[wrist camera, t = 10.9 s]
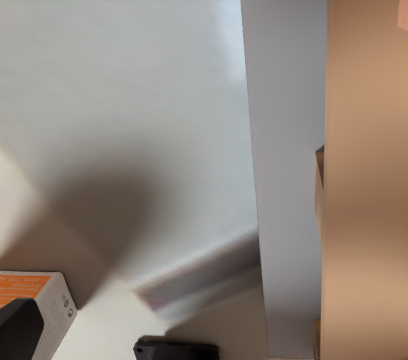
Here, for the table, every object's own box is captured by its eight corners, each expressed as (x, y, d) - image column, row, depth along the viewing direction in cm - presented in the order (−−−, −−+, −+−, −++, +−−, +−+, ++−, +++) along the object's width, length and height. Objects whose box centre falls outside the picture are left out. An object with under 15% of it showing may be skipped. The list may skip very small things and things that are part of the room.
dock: (477, 307, 22) (515, 370, 19) (269, 301, 24) (268, 356, 21) (639, -245, 11) (800, -338, 8) (237, -157, 14) (225, -199, 10)
